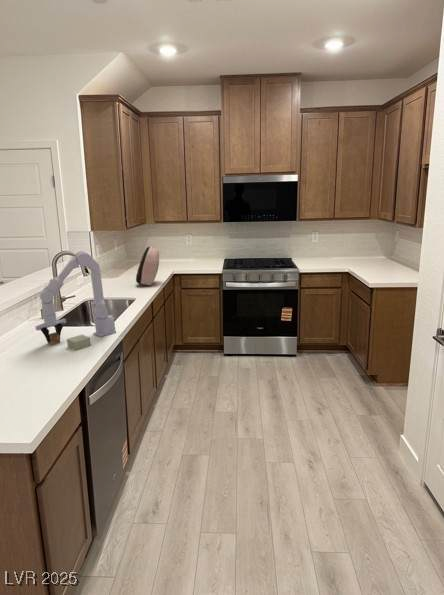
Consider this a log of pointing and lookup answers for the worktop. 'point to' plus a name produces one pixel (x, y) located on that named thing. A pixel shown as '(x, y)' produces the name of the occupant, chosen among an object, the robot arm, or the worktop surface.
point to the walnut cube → (54, 338)
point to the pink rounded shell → (148, 266)
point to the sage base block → (78, 342)
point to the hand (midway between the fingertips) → (53, 340)
